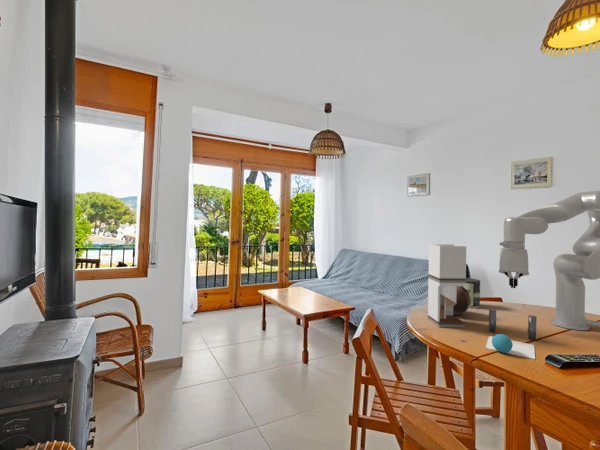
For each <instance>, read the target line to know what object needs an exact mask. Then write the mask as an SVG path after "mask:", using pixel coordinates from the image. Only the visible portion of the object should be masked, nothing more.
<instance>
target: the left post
mask: <svg viewBox="0 0 600 450" xmlns="http://www.w3.org/2000/svg"><path fill="white" fill-rule="evenodd" d="M488 332H490V333H497V310H496V309H494V308H489V309H488Z"/></svg>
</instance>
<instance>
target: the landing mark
mask: <svg viewBox="0 0 600 450" xmlns="http://www.w3.org/2000/svg"><path fill="white" fill-rule="evenodd" d="M493 337H494V336H492V335H489V336H488V338H487V342H486V344H485V349H488V350H492V351H496V352H499V351H498V350H496V349H495V348H494V347H493V345H492V338H493ZM511 341H512V344H513V346H512V349H511V350H510V351H509V352H505V353H506V354H510V355H514V356H518V357H524V358H528V359H532V360H536V354H535V353H536V351H535V344H530V343H526V342H521V341H516V340H512V339H511Z"/></svg>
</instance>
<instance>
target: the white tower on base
mask: <svg viewBox="0 0 600 450" xmlns="http://www.w3.org/2000/svg"><path fill="white" fill-rule="evenodd" d="M466 278H467V246H466V245H465V246H463V245H461V246H460V245H458V246H457V245H455V244H451V243H449V244H448V243H447V244H443V243H441V244H435V243H433V244H430V243H429V244H428V278H427V279H428V287H427V288H428V289H427V290H428V291H427V292H428V293H427V297H428V298H427V320H428V321H430V322H431V323H432V322H433V323H432V324H434V325H435V326H436V325H437V326H436V327H438V328H466V322H465V321H463V320H461V319H460V318H458V317H457V316H454V315H453V305H456V295H457V287H456V286H466Z"/></svg>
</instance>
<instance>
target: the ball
mask: <svg viewBox="0 0 600 450" xmlns="http://www.w3.org/2000/svg"><path fill="white" fill-rule="evenodd" d="M511 340H512V339H511V337H509V336H507V335H506V334H503V333H498V334H495V335H494V336H493V338H492V345H493V347H494V348H495V349H496V350H498V351H497V352H500V353H505V352H509V351H510V350H511V349H512V346H513V344H512V341H513V340H512V341H511ZM496 350H495V351H496Z"/></svg>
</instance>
